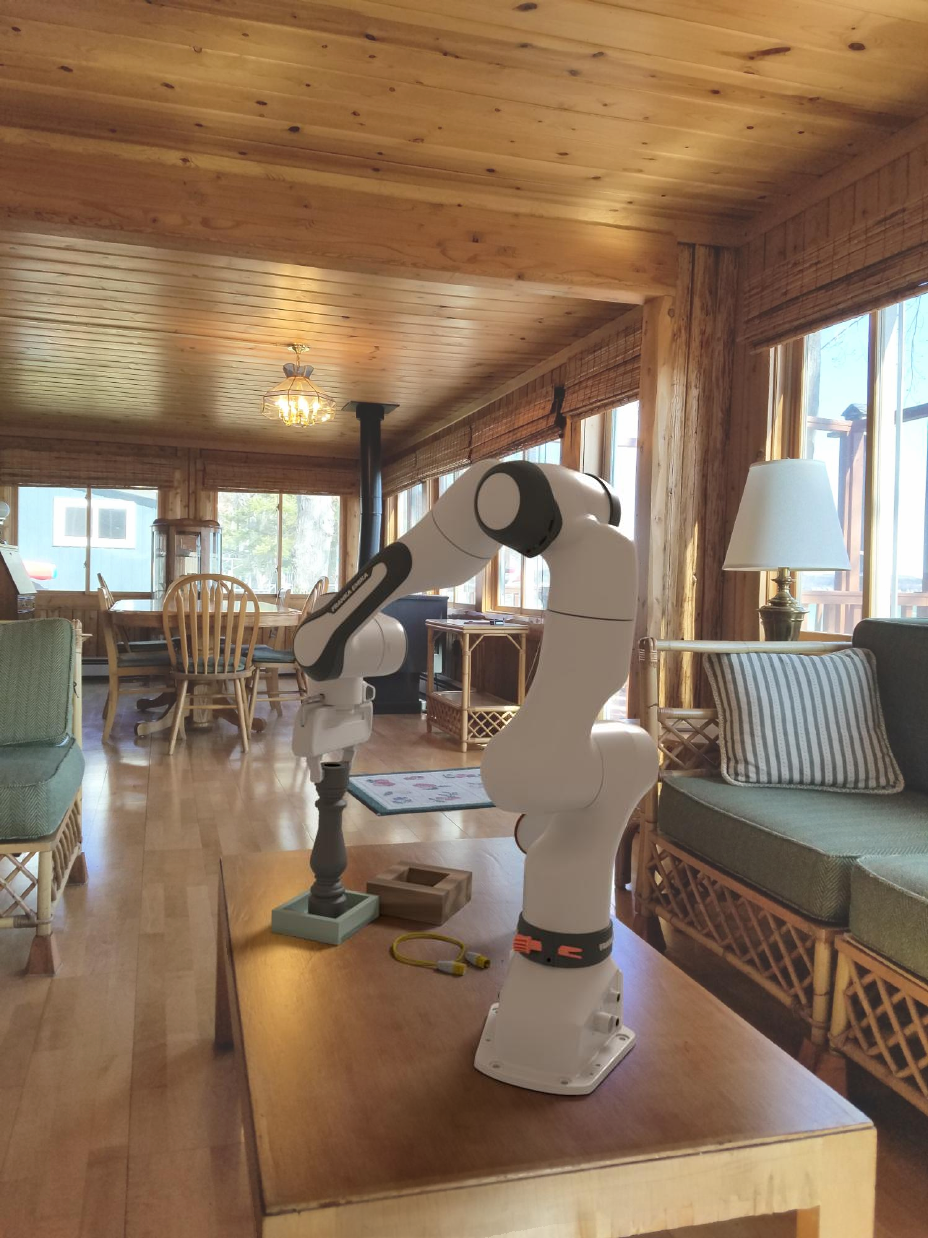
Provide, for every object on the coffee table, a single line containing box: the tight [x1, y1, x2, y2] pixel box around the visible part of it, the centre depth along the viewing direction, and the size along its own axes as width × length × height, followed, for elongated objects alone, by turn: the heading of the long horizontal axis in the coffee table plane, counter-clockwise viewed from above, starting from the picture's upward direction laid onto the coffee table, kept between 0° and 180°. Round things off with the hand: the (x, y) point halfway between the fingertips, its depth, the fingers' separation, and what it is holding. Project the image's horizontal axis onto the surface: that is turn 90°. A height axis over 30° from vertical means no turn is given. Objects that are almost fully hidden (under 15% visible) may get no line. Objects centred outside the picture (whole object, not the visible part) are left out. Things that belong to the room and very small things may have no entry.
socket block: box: [365, 860, 473, 926], centre depth 157 cm, size 14×14×5 cm
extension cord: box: [392, 932, 491, 976], centre depth 135 cm, size 12×16×2 cm
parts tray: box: [270, 888, 380, 946], centre depth 146 cm, size 14×12×4 cm
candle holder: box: [308, 761, 351, 919], centre depth 146 cm, size 6×6×25 cm
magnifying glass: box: [513, 813, 555, 855], centre depth 149 cm, size 9×2×20 cm, turn 102°
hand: (331, 776), depth 145 cm, fingers open, 8 cm apart
